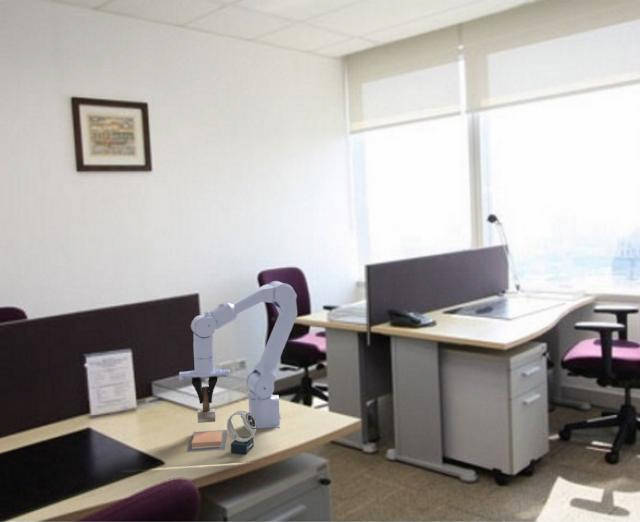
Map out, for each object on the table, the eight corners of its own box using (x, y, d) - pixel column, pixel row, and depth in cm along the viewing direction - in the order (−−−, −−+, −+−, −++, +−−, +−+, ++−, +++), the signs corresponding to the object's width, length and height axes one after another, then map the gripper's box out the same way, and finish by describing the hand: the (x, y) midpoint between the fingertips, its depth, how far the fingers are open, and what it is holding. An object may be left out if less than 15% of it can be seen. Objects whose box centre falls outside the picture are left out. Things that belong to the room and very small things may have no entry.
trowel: (215, 418, 182) (214, 385, 181) (215, 421, 179) (213, 388, 178) (198, 419, 181) (196, 386, 180) (197, 423, 178) (196, 389, 177)
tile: (222, 430, 177) (221, 441, 169) (223, 436, 177) (221, 446, 169) (194, 432, 176) (191, 443, 168) (195, 437, 176) (192, 448, 168)
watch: (253, 456, 163) (251, 416, 162) (225, 454, 165) (223, 414, 164) (260, 448, 168) (259, 409, 167) (233, 446, 170) (231, 408, 169)
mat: (227, 431, 182) (227, 429, 182) (224, 451, 167) (224, 449, 167) (193, 433, 181) (193, 431, 181) (187, 453, 166) (187, 451, 166)
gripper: (229, 352, 183) (231, 396, 184) (180, 354, 182) (182, 399, 183) (228, 358, 176) (230, 404, 177) (177, 360, 175) (179, 407, 176)
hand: (205, 402), depth 180 cm, fingers closed on trowel, 2 cm apart
